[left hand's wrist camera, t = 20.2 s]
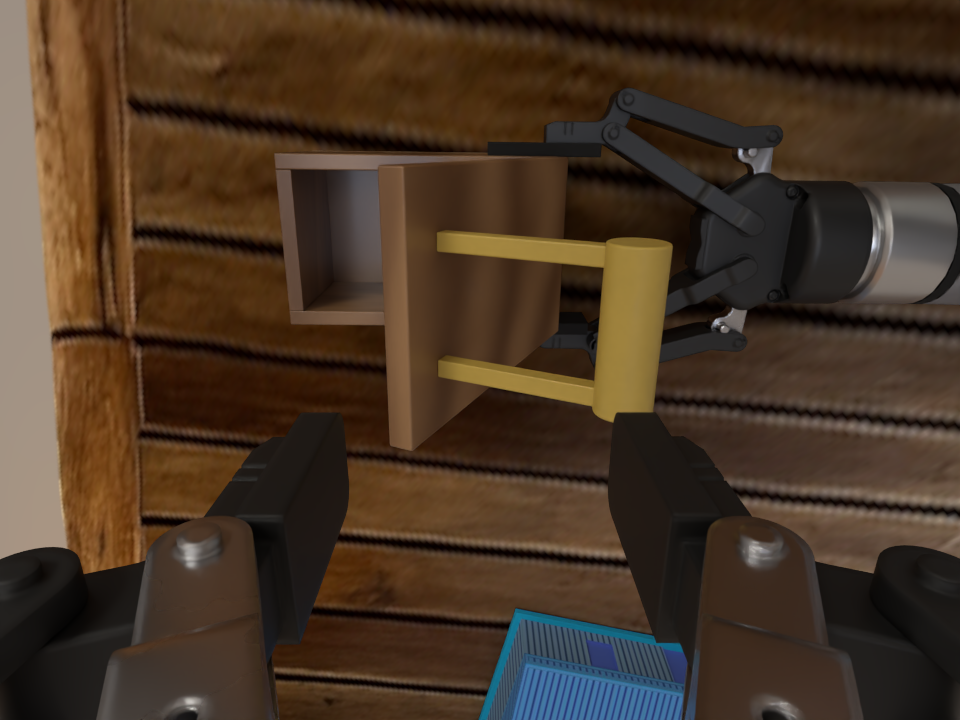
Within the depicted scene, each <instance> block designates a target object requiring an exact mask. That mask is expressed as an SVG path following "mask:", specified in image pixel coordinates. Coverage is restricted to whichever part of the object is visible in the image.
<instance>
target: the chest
mask: <svg viewBox="0 0 960 720" xmlns="http://www.w3.org/2000/svg"><path fill="white" fill-rule="evenodd" d="M274 157H275V167H276V179H277V189H278V199H279V209H280V219H281V229H282V239H283V249H284V259H285V269H286V279H287V289H288V299H289V309H290V318H291V324H305V325H385V321H384V298H383V276H382V253H381V230H380V208H379V185H378V166H379V165H387V164H409V163H430V162H451V161H472V160H494V159H515V158H536V157H557V156H494V155H488V153H461V152H382V151H304V152H285V153H275V154H274Z"/></svg>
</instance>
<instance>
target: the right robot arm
mask: <svg viewBox="0 0 960 720" xmlns="http://www.w3.org/2000/svg"><path fill="white" fill-rule="evenodd" d="M630 117H631V118H634V119H637V120H639V121H642V122H645V123H648V124H651V125H654V126H657V127H660V128H663V129H666V130H669V131H672V132H675V133H678V134H681V135H684V136H686V137H689V138H692V139H695V140H698V141H701V142H704V143H707V144H710V145H713V146H717V147H722V148H732V157H733V159H734V160H735V161H737V162H741V163H743V164H745V165H746V167H747V169H748V173H747V174H745V175H744V176H742V177H741V178H739V179H738V180H736V181H735V182H733V183H732V184H730V185H729V186H727V187H726V188H724V189H723V190H720V189H718V188H717V187H715V186H714V185H712V184H710V183H708V182H706V181H704V180H703V179H701V178H700V177H698V176H697V175H695V174H694V173H692V172H691V171H689V170H688V169H686V168H685V167H683V166H682V165H680V164H679V163H677V162H676V161H674V160H673V159H672V158H670V157H669V156H667V155H666V154H664V153H663V152H661V151H660V150H658V149H657V148H655V147H654V146H652V145H651V144H649V143H648V142H646V141H645V140H643V139H642V138H640V137H639V136H637V135H636V134H634V133H633V132H631V131H630V130H628V129H627V128H626V125H627V123H628V121H629V118H630ZM782 138H783V131H782V129H781V128H780V127H779V126H775V125H769V126H750V127H743V126H740V125H737V124H735V123H732V122H729V121H726V120H723V119H720V118H717V117H714V116H711V115H709V114H706V113H703V112H700V111H697V110H694V109H691V108H688V107H685V106H683V105H680V104H677V103H674V102H671V101H668V100H665V99H662V98H659V97H656V96H654V95H651V94H648V93H645V92H642V91H639V90H636V89H633V88H625V89H622V90H619V91H617V92H615V93H613V94H612V95H611V97H610V100H609V105H608V107H607V110H606V112H605V114H604V116H603V117H602V118H601V119H600V120H599V121H597V122H558V121H556V122H552V123H550V124H547V125H545V126H544V143H530V142H488V155H494V156H557V157H601V145H604V146H605V147H607V148H608V149H610V150H611V151H613V152H614V153H616V154H618V155H619V156H621V157H622V158H624V159H625V160H627V161H628V162H630V163H631V164H633V165H634V166H636V167H637V168H639V169H640V170H642V171H643V172H645V173H646V174H648V175H649V176H651V177H652V178H654V179H655V180H657V181H658V182H660V183H661V184H663V185H664V186H666V187H667V188H669V189H670V190H672V191H674V192H675V193H677V194H678V195H680V196H681V197H682V198H683V199H684V200H686V201H687V202H689V203H690V204H692V205H693V206H695V207H696V208H698V209H697V210H696V212H695V214H694V215H691V220H690V234H691V242H690V244H689V247H688V249H687V252H686V259H685V264H687V265H688V268H687V269H685V270H683V271H681V272H679V273H677V274H675V275H674V276H673V277H672V278H671V279H670V280H669V283H668V291H667V299H666V307H665V316H664V317H666V316H668V315H670V314H672V313H674V312H676V311H678V310H680V309H681V308H683V307H685V306H687V305H691V304H697V303H700V302H702V301H704V300H706V299H707V298H709V297H711V296H713V295H716V296H717V297H718V298H720V299H721V300H722V301H723V302H725V303H726V304H727V306H726V308H725V310H724V311H723V312H721V313H718V314H714V315H711V316H709V317H708V320H707V322H696V323H691V324H686V325H683V326H679V327H675V328H671V329H667V330H664V331H663V332H662V340H661V349H660V357H659V363H661V362H665V361H669V360H673V359H677V358H681V357H685V356H689V355H692V354H696V353H700V352H704V351H708V350H720V351H735V352H737V351H741V350H743V349H744V348H745V347H746V345H747V338H746V337H745V336H744V335H743V334H742V329H743V325H744V321H745V316H746V312H747V310H749V309H751V308H753V307H755V306H757V305H760V304H764V303H822V304H828V303H834V302H837V301H838V302H840V303H843V304H947V305H960V184H940V183H929V182H871V181H864V182H856V183H854V184H852V183H850V182H846V181H785V180H781V179H779V178H777V177H776V176H774V175H773V174H770V172H771V163H772V154H773V147H775V146H777V145H778V144H779V143H780V142H781V141H782ZM599 319H600V317H599V318H597V319H595V320H593V321H591V322H590V323H587V321H586V319H585V317H584V316H583V314H582V312H559V324H558V331H557V332H556V333H555V334H554V335H553V336H551V337H550V338H549V339H548V340H546V341H545V342H544V343H543V344H542V345H540V347H542V348H569V349H584V350H586V351H587V352H588V354H589V359H590V361H591V363H592V365H593V367H594V369H595V367H596V355H597V343H598V331H599Z"/></svg>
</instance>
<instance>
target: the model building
mask: <svg viewBox="0 0 960 720" xmlns="http://www.w3.org/2000/svg"><path fill="white" fill-rule="evenodd" d="M686 668H687V660H686V657H685V655H684V652H683V650H682V647H681V645H680V643H656V641H655V638H654V636H652V635H647V634H642V633H637V632H632V631H627V630H622V629H617V628H612V627H607V626H602V625H597V624H592V623H587V622H582V621H577V620H571V619H566V618H561V617H556V616H551V615H546V614H541V613H536V612H531V611H526V610H521V609H515V612H514V615H513V618H512V621H511V624H510V627H509V630H508V633H507V636H506V639H505V642H504V645H503V648H502V651H501V654H500V657H499V660H498V663H497V666H496V669H495V672H494V675H493V678H492V681H491V684H490V687H489V690H488V693H487V696H486V699H485V702H484V705H483V708H482V711H481V714H480V717H479V720H681V711H682V701H683V692H684V682H685V674H686Z"/></svg>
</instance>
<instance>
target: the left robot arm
mask: <svg viewBox="0 0 960 720" xmlns="http://www.w3.org/2000/svg"><path fill="white" fill-rule="evenodd" d="M608 499H609V507H610V512H611V515H612V518H613V521H614V524H615V527H616V530H617V533H618V535H619V538H620V541H621V544H622V547H623V550H624V553H625V555H626V558H627V561H628V564H629V567H630V570H631V573H632V575H633V578H634V581H635V584H636V587H637V590H638V593H639V595H640V598H641V601H642V604H643V607H644V610H645V613H646V615H647V618H648V621H649V624H650V627H651V630H652V633H653V635H654V638H655V641H656V643H680V645H681V647H682V650H683V652H684V655H685V657H686V660H687V668H686V674H685V682H684V692H683V701H682V711H681V720H960V559H959V558H957V557H955V556H952V555H949V554H946V553H944V552H940V551H937V550H933V549H929V548H924V547H918V546H906V545H903V546H894V547H890V548H887V549H885V550H883V551H882V552H881V553H880V555H879V557H878V560H877V564H876V567H875V571H874V574H873V573H868V572H863V571H858V570H853V569H848V568H843V567H838V566H833V565H828V564H824V563H820V562H816V561H815V560H814V555H813V552H812V550H811V548H810V547H809V545H808V544H807V543H806V542H805V541H804V540H803V539H802V538H801V537H800V536H798V535H797V534H796V533H794V532H793V531H791V530H789V529H787V528H786V527H784V526H781V525H779V524H777V523H774V522H771V521H768V520H765V519H761V518H756V517H752V516H751V514H750V513H749V512H748V510H747V509H746V508H745V506H744V505H743V503H742V502H741V501H740V499H739V498H738V496H737V495H736V494H735V492H734V491H733V490H732V488H731V487H730V485H729V484H728V483H727V481H724V477H723V476H722V474H721V473H720V472H719V470H718V469H717V468H715V465H714V463H713V462H712V460H711V459H710V458H709V456H708V455H707V454H706V452H705V451H704V449H702V448H700V447H699V446H697V445H696V444H694V443H693V442H691V441H690V440H688V439H687V438H685V437H671V435H670V434H669V432H668V431H667V429H666V427H665V426H664V424H663V423H662V421H661V420H660V418H659V417H658V415H657V414H656V413H655V412H617V413H616V414H615V417H614V422H613V431H612V443H611V455H610V467H609V478H608ZM348 500H349V479H348V467H347V456H346V444H345V433H344V423H343V418H342V415H341V414H340V413H301V414H300V415H299V417H298V418H297V420H296V421H295V423H294V424H293V426H292V427H291V429H290V430H289V432H288V433H287V435H286V436H285V437H273V438H271V439H269V440H268V441H266V442H265V443H263V444H262V445H260V446H259V447H257V448H255V449H254V450H253V451H252V452H251V453H250V455H249V456H248V457H247V459H246V460H245V461H244V463H243V464H242V468H241V469H239V470H238V471H237V472H236V474H235V475H234V477H233V478H232V481H230V482H229V483H228V485H227V486H226V487H225V489H224V490H223V492H222V493H221V494H220V496H219V497H218V498H217V500H216V501H215V502H214V504H213V505H212V507H211V508H210V509H209V511H208V512H207V513H206V515H205V516H204V518H199V519H195V520H192V521H189V522H186V523H183V524H181V525H179V526H176V527H174V528H173V529H171V530H169V531H167V532H166V533H164V534H163V535H162V536H160V537H159V538H158V539H157V540H156V541H155V542H154V543H153V544H152V545H151V547H150V548H149V550H148V552H147V555H146V560H145V561H143V562H139V563H136V564H132V565H127V566H122V567H117V568H112V569H107V570H103V571H98V572H93V573H88V574H83V570H82V566H81V563H80V559H79V557H78V555H77V554H76V553H75V552H73V551H71V550H69V549H65V548H59V547H45V548H37V549H32V550H27V551H23V552H20V553H16V554H13V555H10V556H8V557H5V558H2V559H0V720H279V711H278V701H277V692H276V682H275V674H274V668H273V661H272V652H273V650H274V647H275V645H276V644H300V642H301V639H302V636H303V633H304V631H305V628H306V625H307V622H308V619H309V617H310V614H311V611H312V608H313V605H314V603H315V600H316V597H317V594H318V591H319V589H320V586H321V583H322V580H323V577H324V575H325V572H326V569H327V566H328V563H329V561H330V558H331V555H332V552H333V549H334V547H335V544H336V541H337V538H338V536H339V533H340V530H341V527H342V524H343V522H344V519H345V516H346V512H347V507H348Z"/></svg>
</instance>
